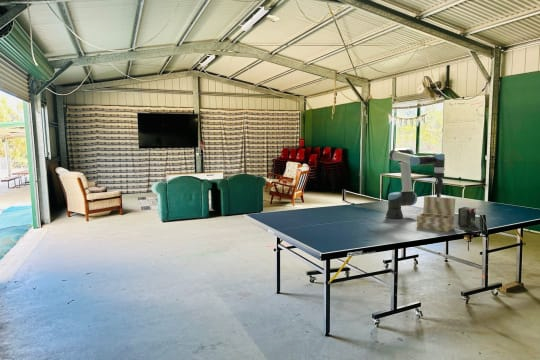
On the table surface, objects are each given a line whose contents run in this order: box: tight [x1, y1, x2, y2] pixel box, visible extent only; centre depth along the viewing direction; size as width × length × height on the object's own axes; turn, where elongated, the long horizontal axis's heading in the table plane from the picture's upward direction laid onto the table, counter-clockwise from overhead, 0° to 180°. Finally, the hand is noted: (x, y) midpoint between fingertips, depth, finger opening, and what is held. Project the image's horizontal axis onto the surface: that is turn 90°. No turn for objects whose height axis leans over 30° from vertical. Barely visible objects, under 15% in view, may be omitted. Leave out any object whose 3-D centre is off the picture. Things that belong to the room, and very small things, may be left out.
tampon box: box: [457, 206, 477, 228], centre depth 291 cm, size 11×9×15 cm
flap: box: [423, 195, 456, 217], centre depth 290 cm, size 24×14×1 cm
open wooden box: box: [416, 213, 455, 233], centre depth 286 cm, size 24×14×10 cm, turn 47°
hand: (438, 201), depth 289 cm, fingers closed
